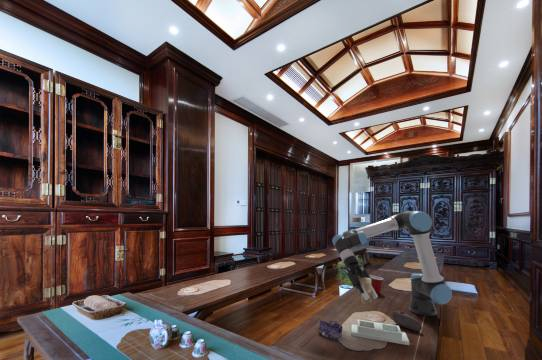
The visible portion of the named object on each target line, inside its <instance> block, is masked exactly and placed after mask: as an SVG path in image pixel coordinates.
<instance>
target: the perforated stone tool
mask: <svg viewBox="0 0 542 360" xmlns="http://www.w3.org/2000/svg"><path fill="white" fill-rule="evenodd" d="M392 320H393V322H394V323H395V324H396V325H398V326H399V327H400V326H401V327H402V328H403V327H404V328H406V329H409V330H412V331H414V332H420V331H421V330H422V329H423V327H422V325H421V322H420V321H419V320H418V319H416V318H415V317H413V316H412V315H409V314H407V313H406V312H403V311H400V310H394V311H393V312H392Z"/></svg>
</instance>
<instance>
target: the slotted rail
mask: <svg viewBox="0 0 542 360" xmlns="http://www.w3.org/2000/svg"><path fill="white" fill-rule="evenodd" d="M351 336H353V337H359V338H365V339H371V340H377V341H381V342H387V343H388V342H389V343H393V344H394V343H395V344H399V345H404V346H405V345H406V346H410V340H409V338H408V334H407V333H406V332H404V331H402V330H401V328H400V325H398V324H396V325H395V324H389V323H382V322H375V321H369V320H362V319H359V318H358V319H357V324H353V323H351Z"/></svg>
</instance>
